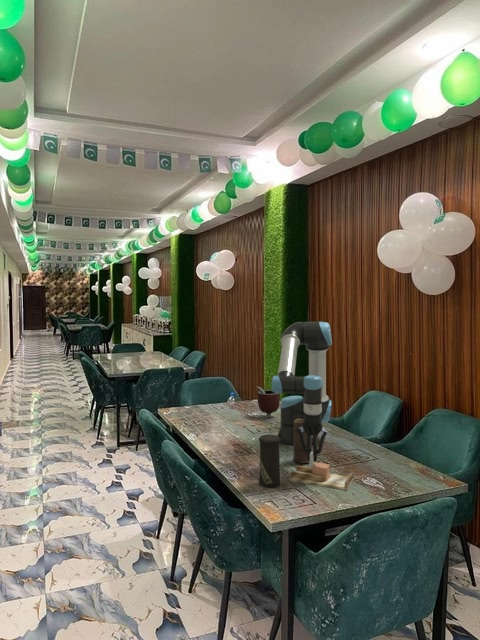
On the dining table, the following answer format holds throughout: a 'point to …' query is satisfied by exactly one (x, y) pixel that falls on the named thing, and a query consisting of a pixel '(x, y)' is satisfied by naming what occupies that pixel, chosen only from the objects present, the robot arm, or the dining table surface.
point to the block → (321, 470)
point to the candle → (299, 443)
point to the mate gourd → (268, 404)
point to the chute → (321, 478)
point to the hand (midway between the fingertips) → (312, 468)
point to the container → (269, 461)
